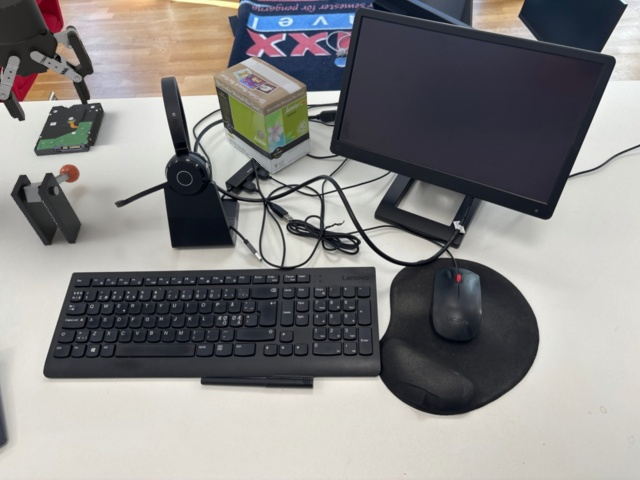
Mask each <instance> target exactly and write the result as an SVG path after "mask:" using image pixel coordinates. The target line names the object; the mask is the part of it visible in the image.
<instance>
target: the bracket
mask: <svg viewBox="0 0 640 480" xmlns="http://www.w3.org/2000/svg"><path fill="white" fill-rule="evenodd" d="M55 177H56V176H55V174H54V173H53V172H45V174H44V176H43V178H42V181H41V182H42V183H41V186H40V188H39V190H38V194H39V196H40V197H41V199H42V202H27V199H26V195H25V191H24V187H25V186H27V185H29V184H31V183H32V182H31V179H30V178H29V177H28V175H27V174H25V173H24V174H19V175H18V178H17V180H16V182H15V184H14V185H13V188H12V189H11V192H10V196H11V198H12V200H13V201H14V202H15V204H16V205H17V207H18V209H19V210H20V211H21V213H22V214H23V216H24V218H25V219H26V220H27V222H28V223H29V224H30V226H31V227H32V229H33V230H34V232H35V233H36V235H37V236H38V238H39V240H40V241H41V243H42V244H43V246H51V245H52V243H53V240H54V238H55V235H56V233H57V232H56V231H57V229H58V228H59V230H60V231H61V233H62V234H63V236H64V238H65V239H66V241H67V242H68V244H69V245H73V244H76V242H77V240H78V237H79V234H80V230H81V227H82V222H81V220H80V219H79V217H78V215H77V213H76V212H75V210H74V208H73V206H72V205H71V203H70V201H69V199H68V198H67V196H66V194H65V192H64V190H63V188H62V187H61V184H59V183H58V182H57V180H56V178H55Z"/></svg>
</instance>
